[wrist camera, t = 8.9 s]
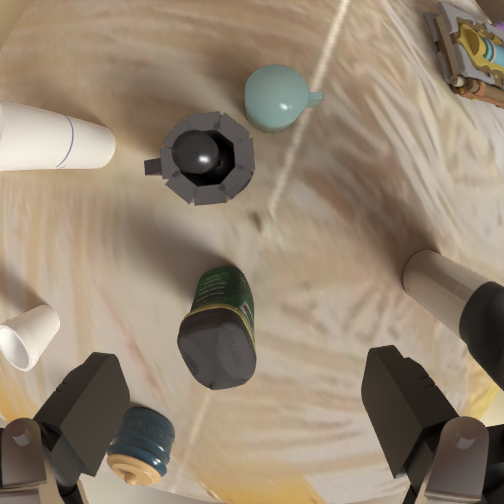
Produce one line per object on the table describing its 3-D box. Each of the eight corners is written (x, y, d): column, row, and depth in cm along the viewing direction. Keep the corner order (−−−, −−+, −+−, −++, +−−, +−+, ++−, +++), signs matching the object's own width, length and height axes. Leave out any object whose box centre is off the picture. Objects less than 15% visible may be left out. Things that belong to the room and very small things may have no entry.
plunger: (231, 147, 36) (218, 121, 19) (233, 177, 37) (222, 175, 20) (201, 150, 36) (164, 128, 19) (203, 179, 37) (168, 181, 20)
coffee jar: (192, 273, 45) (161, 333, 27) (240, 259, 44) (237, 313, 26) (213, 325, 47) (198, 401, 29) (259, 313, 47) (265, 387, 29)
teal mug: (308, 85, 38) (322, 65, 29) (313, 132, 40) (329, 121, 31) (243, 87, 38) (242, 66, 29) (247, 134, 40) (247, 123, 31)
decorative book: (517, 119, 38) (548, 117, 28) (444, 98, 38) (481, 89, 28) (492, 27, 32) (518, 17, 21) (414, -7, 32) (438, -28, 21)
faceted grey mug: (251, 129, 40) (253, 104, 25) (256, 195, 42) (261, 203, 28) (171, 138, 40) (135, 121, 25) (177, 202, 42) (143, 215, 28)
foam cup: (41, 336, 48) (8, 367, 36) (27, 297, 46) (-10, 323, 33) (71, 339, 48) (39, 374, 35) (58, 297, 46) (19, 327, 33)
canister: (125, 433, 55) (105, 486, 38) (119, 399, 52) (91, 457, 35) (176, 446, 56) (164, 503, 39) (175, 413, 53) (159, 477, 36)
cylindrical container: (122, 152, 40) (10, 138, 16) (89, 177, 41) (-26, 188, 16) (105, 117, 38) (-3, 82, 14) (74, 143, 39) (-39, 133, 15)
